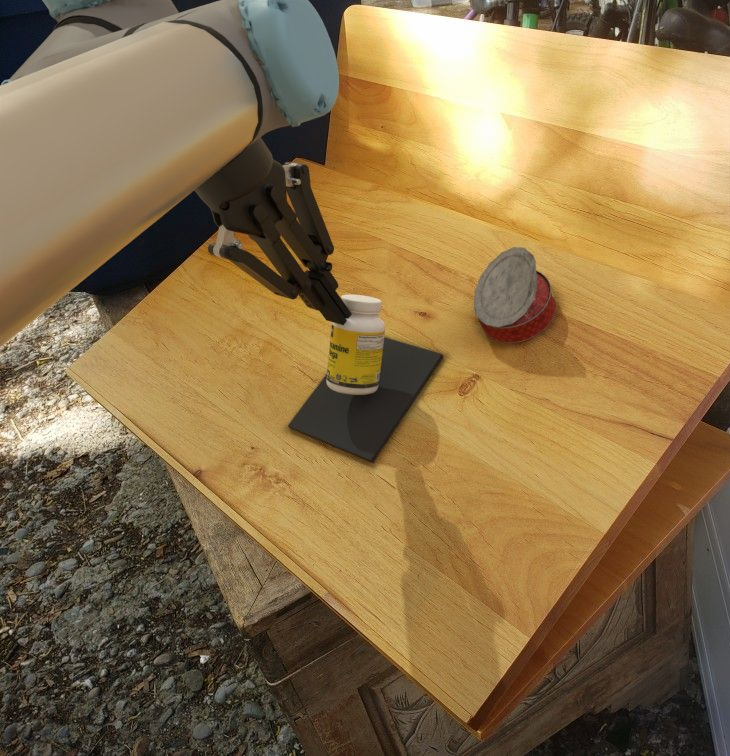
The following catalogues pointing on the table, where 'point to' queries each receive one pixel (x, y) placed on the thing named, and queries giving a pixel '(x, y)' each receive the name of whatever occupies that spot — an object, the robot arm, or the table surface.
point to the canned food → (514, 298)
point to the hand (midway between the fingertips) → (338, 317)
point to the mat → (368, 403)
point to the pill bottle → (357, 348)
